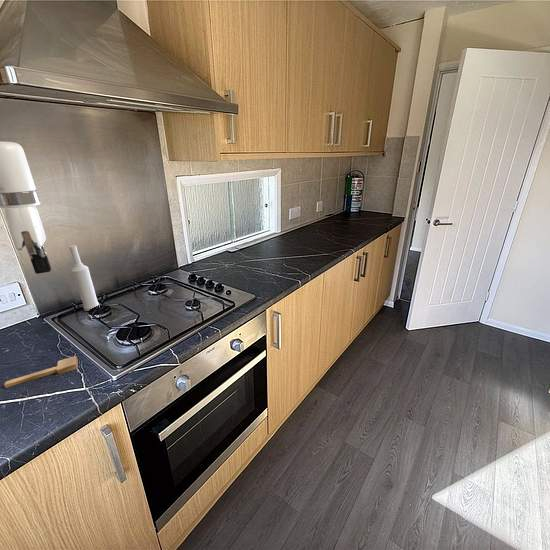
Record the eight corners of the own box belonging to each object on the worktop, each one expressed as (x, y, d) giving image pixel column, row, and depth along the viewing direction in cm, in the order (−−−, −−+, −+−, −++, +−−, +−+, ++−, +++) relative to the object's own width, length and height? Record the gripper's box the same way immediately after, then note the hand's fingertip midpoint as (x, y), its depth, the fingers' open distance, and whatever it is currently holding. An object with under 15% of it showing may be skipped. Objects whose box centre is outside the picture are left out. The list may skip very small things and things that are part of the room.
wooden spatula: (4, 391, 73) (1, 387, 73) (8, 381, 77) (5, 376, 76) (77, 368, 80) (75, 364, 80) (78, 359, 84) (76, 355, 83)
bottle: (100, 309, 111) (81, 246, 101) (84, 313, 108) (63, 249, 98) (99, 304, 115) (80, 242, 105) (84, 308, 112) (63, 245, 102)
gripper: (6, 197, 73) (30, 265, 80) (-12, 205, 61) (19, 285, 68) (43, 194, 76) (63, 260, 83) (33, 202, 64) (58, 278, 71)
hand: (43, 271), depth 76 cm, fingers closed
